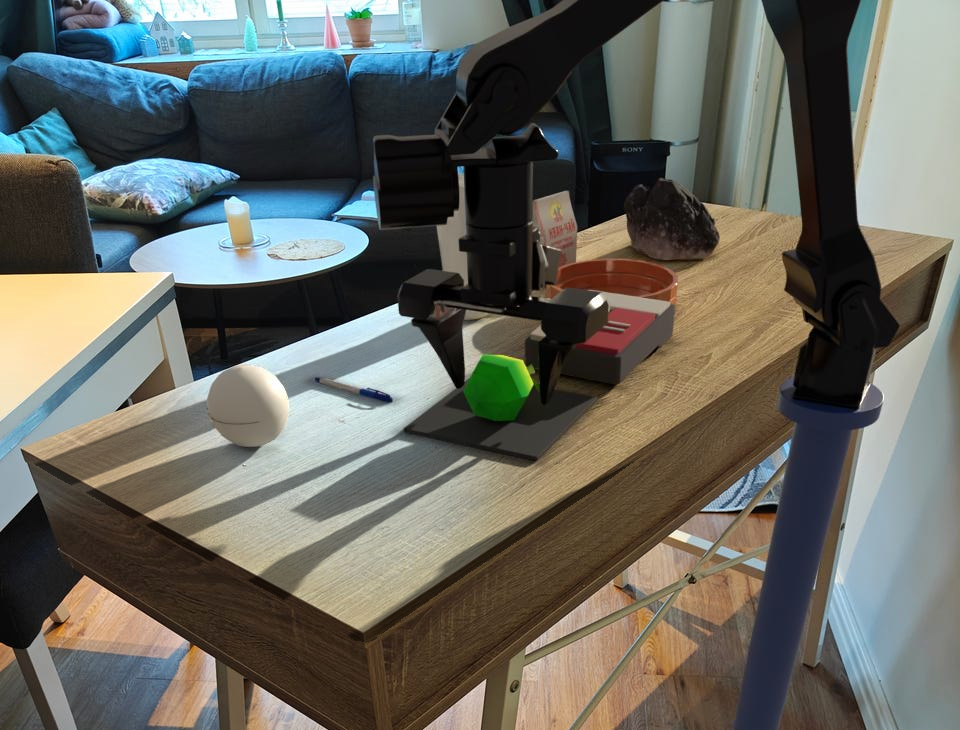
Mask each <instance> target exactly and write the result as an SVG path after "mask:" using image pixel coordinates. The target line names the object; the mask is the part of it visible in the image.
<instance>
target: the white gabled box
mask: <svg viewBox="0 0 960 730" xmlns="http://www.w3.org/2000/svg"><path fill="white" fill-rule="evenodd" d="M571 202H572V201H571V198H570V190H564V191H561V192H557V193H554V194H551V195H547V196H544V197H540V198H537V199H533V227H539V232H540V243H541V245H544V246H549V247H552V248H556V249H559V250H561V256H560V262H559V267H561V266H564V265H567V264H570V263H574V262H577V247H578V246H577V245H578V223H577V221H576V217H575V213H574V210H573V206H572V203H571ZM545 286H547V285H546V284H545Z"/></svg>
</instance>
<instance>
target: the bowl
mask: <svg viewBox="0 0 960 730" xmlns="http://www.w3.org/2000/svg"><path fill="white" fill-rule="evenodd" d="M678 284H679V275H677V273H675V272H674V271H673V270H672V269H671V268H669V267H665V266H664V265H662V264H657V263H653V262H649V261H645V260H639V259H638V260H637V259H629V258H597V259H586V260H581V261H576V262H574V263H570V264H567V265H564V266H561V267H559V269H558V276H557V282H556V286H553V285H546V292H545V293H546V295H545V298H549V299H551V298H553V297H554V296H556V295H557V294H558V293H560V292H561V291H562V290H564V289H565V288H566V287H568V288H575V289H583V290H595V291H601V292H608V293H614V294H621V295H627V296H634V297H641V298H647V299H654V300H660V301H667V302H670V304H674V305H675V306H676V305H677V304H676V303H677V294H678Z"/></svg>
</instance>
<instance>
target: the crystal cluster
mask: <svg viewBox="0 0 960 730" xmlns="http://www.w3.org/2000/svg"><path fill="white" fill-rule="evenodd" d="M623 208H624V212H625V217H626V229H627V233H628V236H629V239H630V245H631V247H632V248H633V249H634V250H636V252H637V253H638V254H641V255H646V256H648V258H652V259H657V260H661V261H671V260H685V261H686V260H687V261H690V260H704V259H706V258H708V257H709V256H711V255H712V254H713V252H714V251H715V249H716V248H717V246H718V245H719V243H720V239H721V238H720V233H719V231H718V229H717V227H716V219H715V218H713V217H712V213H710V211H709V210H708V208H707V206H706V205H705V204H704V203H703V202H702V201H700V200H699V198H697V197H696V196H695V195H694V194H693V193H692V192H690V191H689V189H688V188H687V187H685V186H684V185H682V184H681V183H680V182H678V181H676V180H675V181H674V180H673V179H668V178H665V177H659V178H658V179H657V180H656V183H654V186H653V187H652V189H651V188H650V187H649V185H646V186H644V184H637V185H636V186H634V188H633V189H632V190H631V191H630V193H628V195H627V197H626V198H625V200H624V205H623Z"/></svg>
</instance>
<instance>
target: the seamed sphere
mask: <svg viewBox="0 0 960 730" xmlns="http://www.w3.org/2000/svg"><path fill="white" fill-rule="evenodd" d="M206 403H207V408H206V410H207V415H208V416H209V418H210V419H209V420H207V421H206V422H204V423H203V424H202V425H200V426H199V427H197V428H195V429H194V430H193V432H196V431H198V430H199V429H200V428H202V427H204V426H205V425H206V424H207V423H210V422H211V423H212V425H213V428H214V429H215V430H216V431H217V432H218V433H219V434H220V435H221V437H223V438H224V439H225V440H227V441H229V442H231V443H232V444H234V445H237V446H240V447H245V448H246V447H247V448H255V447H261V446H264V445H267V444H270V443H271V442H274V441H275V440H276V439H277V438H278V436H279V435H280V434H281V433H283V431H284V430H285V428H286V425H287V422H288V419H289V416H290V401H289V397H288V394H287V391H286V389H285V387H284V386H283V384H282V383H281V381H280V379H278V377H277V376H276V375H274V374H273V373H272V372H270V371H268V370H266V368H263V367H262V366H256V365H252V364H245V363H244V364H237V365H234V366H232V367H229V368H227V369H225V370H223V371H222V372H220V373H219V374H218V375H217V377H216V378H214V380H213V382H212V384H211V385H210V387H209V391H208V395H207V398H206Z"/></svg>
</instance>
